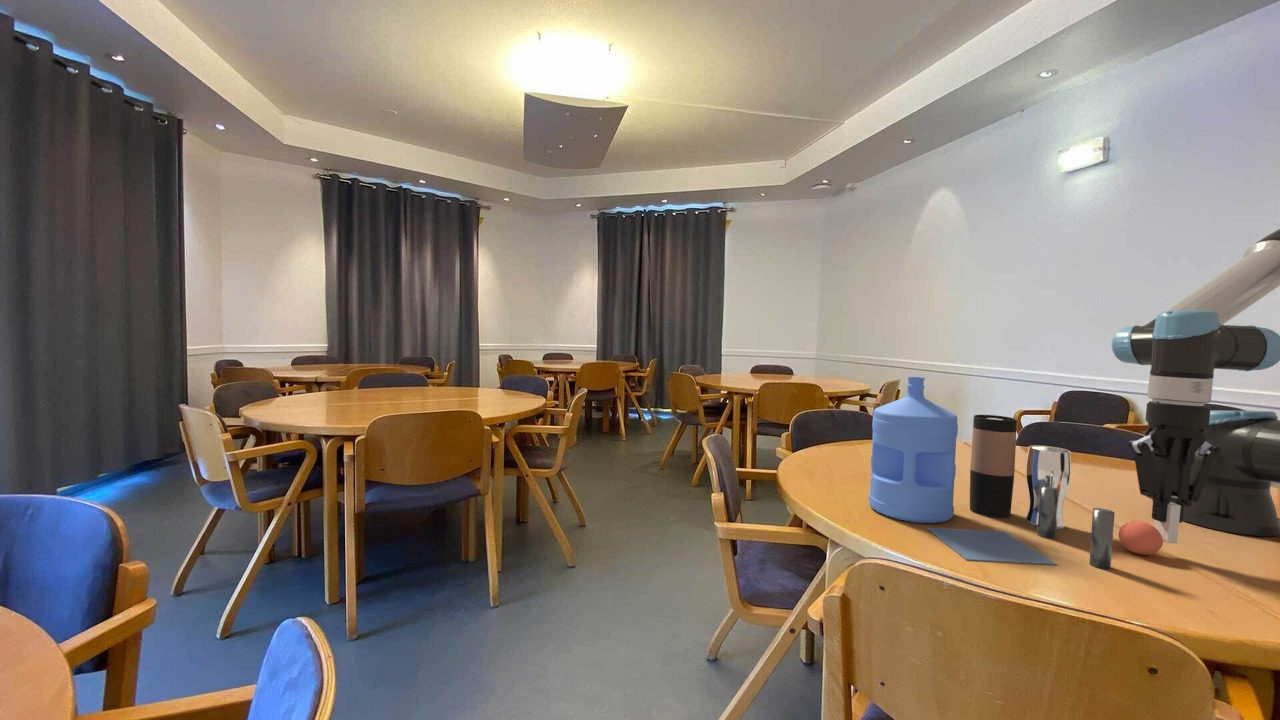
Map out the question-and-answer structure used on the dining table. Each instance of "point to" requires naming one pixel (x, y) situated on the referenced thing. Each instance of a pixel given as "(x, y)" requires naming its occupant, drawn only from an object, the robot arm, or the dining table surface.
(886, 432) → the water jug
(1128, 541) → the ball
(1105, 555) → the post
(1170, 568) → the dining table surface
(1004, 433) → the travel mug
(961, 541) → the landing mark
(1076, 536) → the dining table surface
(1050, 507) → the post
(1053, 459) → the beer glass
